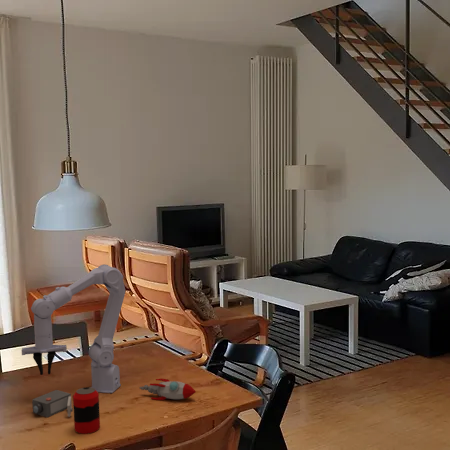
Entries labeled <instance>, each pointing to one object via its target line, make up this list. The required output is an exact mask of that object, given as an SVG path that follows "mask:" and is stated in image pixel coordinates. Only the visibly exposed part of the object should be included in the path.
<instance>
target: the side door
mask: <svg viewBox="0 0 450 450" xmlns="http://www.w3.org/2000/svg"><path fill="white" fill-rule="evenodd" d="M66 410H67V418H69V417H71V414H72V412H73V413H74V407H72V395H71V396H69V397H68V404H67V409H66Z"/></svg>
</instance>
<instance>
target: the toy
mask: <svg viewBox="0 0 450 450" xmlns="http://www.w3.org/2000/svg"><path fill="white" fill-rule="evenodd" d="M155 381H158V382H159V381H161V382H159V383H150V384H149V385H148V384H145V385H143V386H139V389H140V390H141V391H144V390H145V391H147V392H148V393H150V394H153V395H158V396H159V397H150V399H152V400H156V401H165V400H166V399H171V400H184V399H188V398H190V397H191V396H193V395H195V393H196V392H197V391H196V390H195V389H194V388H193V387H192V386H191V385H190V384H188V383H186V382H182V381H177V380H173V381H170V380H169V379H168V378H167V379H166V378H156V379H155Z"/></svg>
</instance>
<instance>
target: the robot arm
mask: <svg viewBox="0 0 450 450" xmlns="http://www.w3.org/2000/svg"><path fill="white" fill-rule="evenodd" d="M92 285H101V286H102V285H104V286H105V288H106V289H107V291H108V292H109V294H108V298H107V302H106V306H105V309H104V313H103V315H102V320H101V323H100V327H99V331H98V335H97V336H96V337H95V338H94V339H93V341H92V342H93V343H92V345H91V346H90V347H89V349H88V356H89V358H90V359H91V363H90V367H91V368H90V369H91V372H90V373H91V386H90V387H91V388H94V389H95V390H96V391H97V392H98V393H108V394H113V393H114V392H115V391H116V390H117V389H119V387H122V384H121V380H120V379H121V378H120V367H119V365H117V364H114V363H113V361H114V360H115V359H114V357H115V356H114V349H115V344H114V340H113V339H114V336H115V333H116V332H115V331H116V328H117V325H118V323H119V322H118V321H119V317H120V313H121V310H122V306H123V303H124V299H125V296H126V288H125V282H124V275H123V274H122V272H121V271H120V270H119V269H118V268H116V267H113V266H111V265H108V264H106V263H105V264H101V265H99V266H98V267H96V268H92V270H91V271H89V272H88V273H86V274H85V275H83V276H82V277H80V278H79V279H78V280H76V281H74V282H73V283H71V284H70V285H69V286H67V287H66V286H61V287H59V286H57V287H55V288H54V289H55V290H53V291H52V292H50V293H49V294H47V295H46V294H45V295H43V296H42V298H38V299H37V298H36V299H35V300H34V301H33V303H32V305H31V307H30V310H31V312H32V314H33V321H34V322H33V327H34V328H33V329H34V345H35V346H28V347H22V348H21V356H25V355H32V358H33V360H34V362H35V363H36V365H37V367H38V370H39V374H40V376H43V375H44V367H43V354H47V355H46V358H47V375H51V374H52V373H51V371H52V370H51V369H52V364H53V361H54V359H55V356H56V353H62V352H63V353H66V352H67V349H68V348H67V344H54V342H53V322H52V315H53V314H54V311H56V310H57V309H58V310H59V308H61V307H62V306H64V305H66V304H68V303H70V302H71V301H72V298H73V296H74V295H76V294H78V293H80V292H81V291H83V290H84V289H87V288H88V287H90V286H92Z"/></svg>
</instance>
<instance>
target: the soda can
mask: <svg viewBox="0 0 450 450" xmlns="http://www.w3.org/2000/svg"><path fill="white" fill-rule="evenodd" d="M91 387H92V386H89V387H81V388H78V389H77V390H76V391H75V392H74V394H73V395H72V401H73V403H72V404H73V424H74V425H73V427H74V431H75V432H76V433H77V432H78V434H80V433H81V434H82V435H86V434H87V435H88V433H89V434H92V433H95V432H97V431H98V430H99V429H100V428H101V419H100V417H101V416H100V398H99V397H100V396H99V393H100V392H97V391H96V390H95V389H94V388H91Z"/></svg>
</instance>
